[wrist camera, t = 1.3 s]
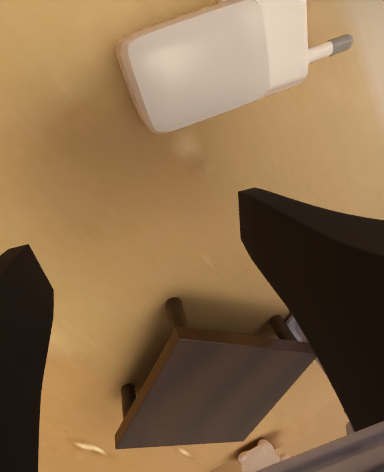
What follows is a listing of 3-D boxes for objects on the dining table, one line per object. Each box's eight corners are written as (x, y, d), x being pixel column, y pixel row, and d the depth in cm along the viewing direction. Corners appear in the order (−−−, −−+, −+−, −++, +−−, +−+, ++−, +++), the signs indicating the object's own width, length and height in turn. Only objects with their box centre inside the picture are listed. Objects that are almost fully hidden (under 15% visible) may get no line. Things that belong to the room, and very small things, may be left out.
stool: (290, 313, 31) (319, 353, 27) (227, 397, 37) (243, 441, 32) (166, 290, 25) (179, 338, 21) (112, 395, 31) (115, 449, 26)
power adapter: (308, -42, 16) (402, -78, 11) (312, 62, 19) (388, 69, 14) (104, 28, 15) (108, 22, 10) (140, 125, 18) (157, 155, 13)
